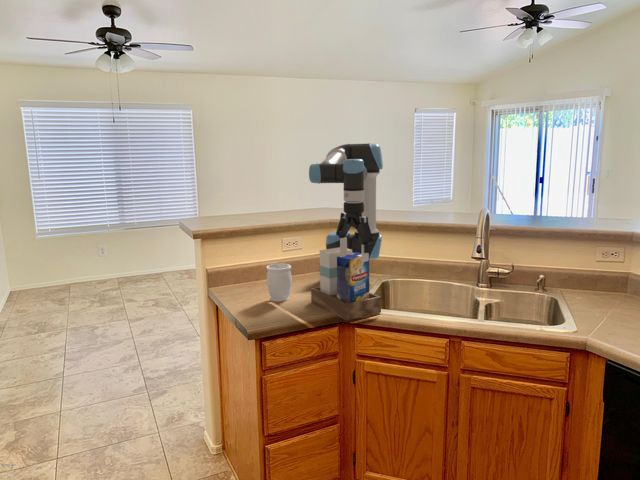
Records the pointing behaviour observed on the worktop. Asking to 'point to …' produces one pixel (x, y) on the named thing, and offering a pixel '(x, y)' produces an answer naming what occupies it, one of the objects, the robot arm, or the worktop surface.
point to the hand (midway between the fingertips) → (354, 257)
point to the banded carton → (329, 270)
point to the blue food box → (352, 278)
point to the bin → (346, 305)
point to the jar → (279, 281)
